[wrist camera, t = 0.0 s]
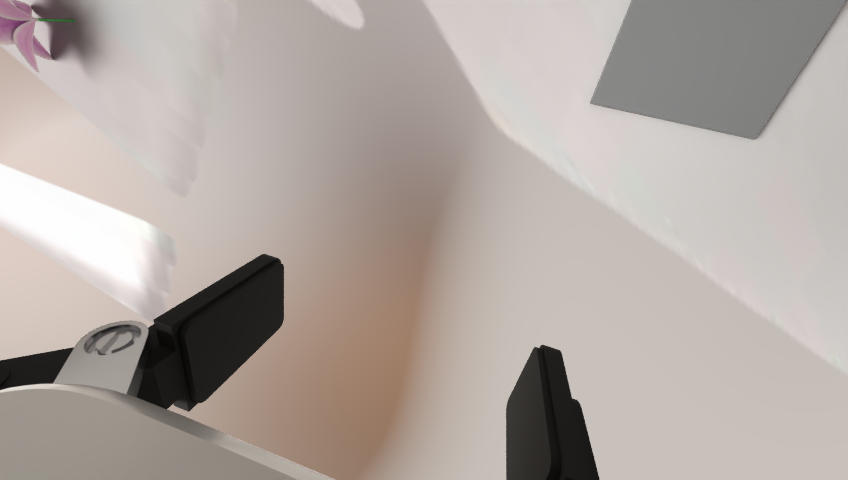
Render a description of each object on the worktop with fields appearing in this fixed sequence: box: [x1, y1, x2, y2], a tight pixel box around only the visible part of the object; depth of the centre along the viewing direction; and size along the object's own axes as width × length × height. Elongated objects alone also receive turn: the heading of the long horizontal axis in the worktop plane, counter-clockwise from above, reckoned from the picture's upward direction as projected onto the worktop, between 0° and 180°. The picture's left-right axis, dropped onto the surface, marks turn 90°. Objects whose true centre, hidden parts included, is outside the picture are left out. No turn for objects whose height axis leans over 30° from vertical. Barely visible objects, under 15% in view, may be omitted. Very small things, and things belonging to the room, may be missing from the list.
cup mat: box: [590, 0, 847, 139], centre depth 29 cm, size 12×16×1 cm
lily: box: [0, 0, 75, 72], centre depth 42 cm, size 12×12×10 cm
